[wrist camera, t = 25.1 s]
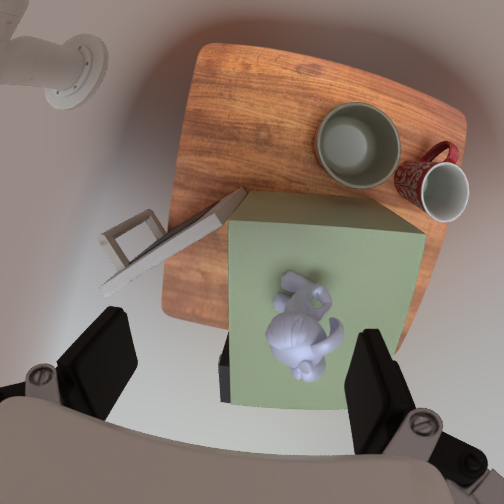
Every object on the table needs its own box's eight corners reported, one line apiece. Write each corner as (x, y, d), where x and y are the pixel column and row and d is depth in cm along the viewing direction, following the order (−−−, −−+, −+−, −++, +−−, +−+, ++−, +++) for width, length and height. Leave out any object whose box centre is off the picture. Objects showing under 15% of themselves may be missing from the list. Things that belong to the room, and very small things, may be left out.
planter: (360, 192, 49) (379, 204, 38) (298, 161, 48) (302, 164, 38) (388, 132, 44) (413, 129, 34) (326, 99, 44) (337, 86, 34)
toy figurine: (279, 257, 31) (277, 320, 20) (335, 275, 31) (358, 342, 20) (260, 310, 33) (249, 385, 22) (312, 325, 33) (321, 401, 22)
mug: (419, 212, 48) (455, 232, 36) (382, 191, 48) (412, 206, 35) (443, 154, 44) (484, 160, 31) (407, 131, 44) (443, 128, 31)
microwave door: (142, 214, 54) (75, 252, 34) (225, 158, 49) (185, 166, 29) (162, 245, 56) (105, 297, 36) (247, 194, 51) (222, 225, 31)
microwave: (236, 325, 61) (215, 402, 40) (237, 189, 51) (205, 219, 30) (350, 331, 58) (371, 408, 38) (373, 199, 49) (426, 234, 28)
